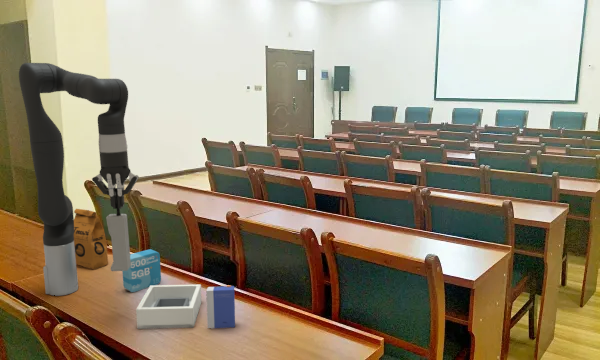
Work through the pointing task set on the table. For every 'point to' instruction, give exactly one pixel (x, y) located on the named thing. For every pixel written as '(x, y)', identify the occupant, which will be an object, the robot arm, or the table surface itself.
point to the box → (169, 306)
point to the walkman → (220, 307)
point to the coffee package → (89, 240)
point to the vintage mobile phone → (119, 239)
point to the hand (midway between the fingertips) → (118, 207)
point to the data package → (142, 271)
